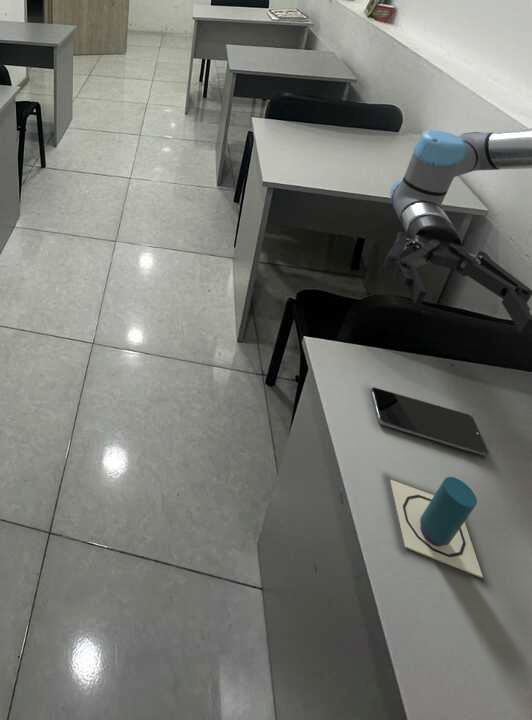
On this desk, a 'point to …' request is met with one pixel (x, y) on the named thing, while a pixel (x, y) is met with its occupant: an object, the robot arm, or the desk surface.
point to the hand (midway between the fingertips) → (472, 312)
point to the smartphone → (428, 421)
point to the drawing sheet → (409, 514)
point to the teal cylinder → (447, 511)
